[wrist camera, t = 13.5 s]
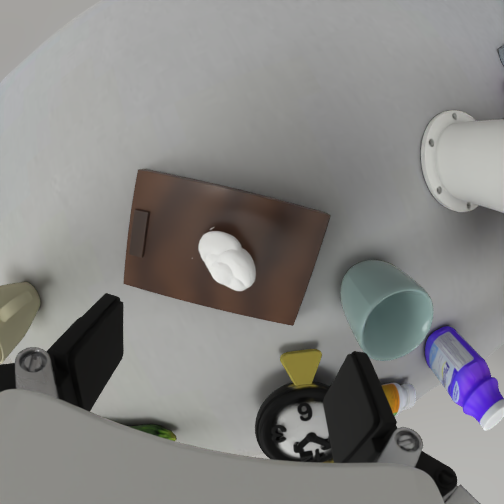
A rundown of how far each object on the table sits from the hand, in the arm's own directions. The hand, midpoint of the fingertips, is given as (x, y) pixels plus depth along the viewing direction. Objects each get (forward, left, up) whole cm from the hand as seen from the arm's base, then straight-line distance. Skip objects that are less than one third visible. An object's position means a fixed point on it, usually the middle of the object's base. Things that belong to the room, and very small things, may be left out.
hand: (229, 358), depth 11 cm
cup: (-15, +2, -21) cm, 26 cm away
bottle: (-32, +9, -21) cm, 39 cm away
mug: (+29, +16, -21) cm, 39 cm away
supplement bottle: (-20, +20, -18) cm, 34 cm away
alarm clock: (-12, +20, -21) cm, 31 cm away
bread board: (+2, +2, -21) cm, 21 cm away
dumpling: (+1, +2, -19) cm, 19 cm away
